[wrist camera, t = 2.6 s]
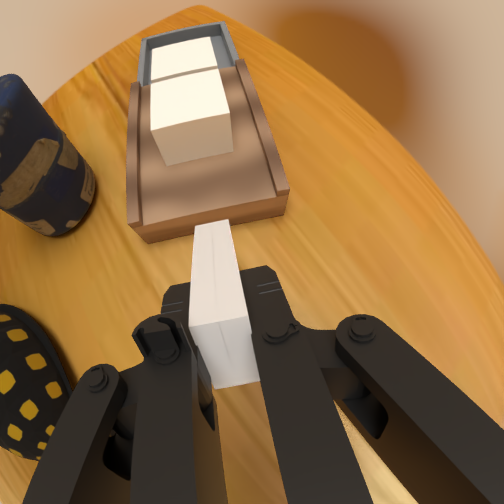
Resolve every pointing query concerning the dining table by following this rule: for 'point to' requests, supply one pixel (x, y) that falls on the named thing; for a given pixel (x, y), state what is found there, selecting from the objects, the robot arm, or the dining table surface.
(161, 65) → the block
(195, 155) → the block
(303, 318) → the dining table surface
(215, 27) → the tray
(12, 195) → the canister
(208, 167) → the board
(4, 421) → the yellow spotted black dome
